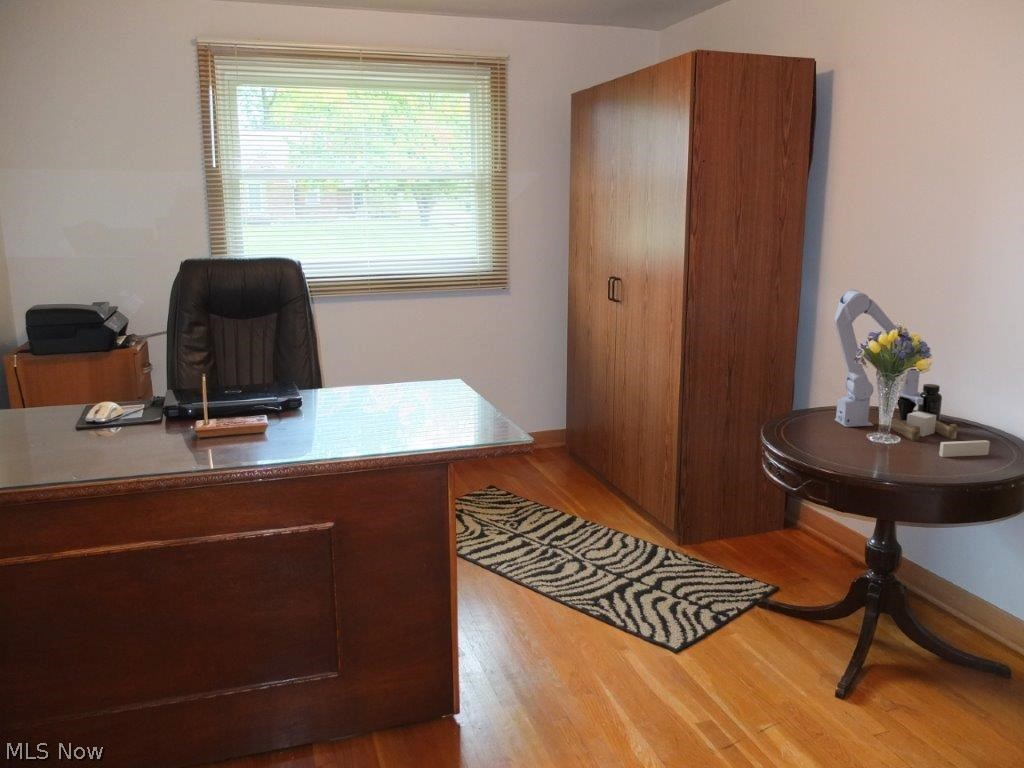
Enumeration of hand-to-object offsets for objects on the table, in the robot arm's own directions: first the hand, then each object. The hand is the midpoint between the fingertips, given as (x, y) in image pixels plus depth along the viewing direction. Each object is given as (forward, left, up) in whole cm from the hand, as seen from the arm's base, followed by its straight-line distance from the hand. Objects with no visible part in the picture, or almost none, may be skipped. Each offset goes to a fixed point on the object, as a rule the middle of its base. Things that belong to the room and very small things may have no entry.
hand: (904, 419), depth 260 cm
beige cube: (0, -9, -2) cm, 9 cm away
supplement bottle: (+10, +3, -2) cm, 11 cm away
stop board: (0, -31, -1) cm, 31 cm away
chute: (0, -10, -1) cm, 10 cm away
